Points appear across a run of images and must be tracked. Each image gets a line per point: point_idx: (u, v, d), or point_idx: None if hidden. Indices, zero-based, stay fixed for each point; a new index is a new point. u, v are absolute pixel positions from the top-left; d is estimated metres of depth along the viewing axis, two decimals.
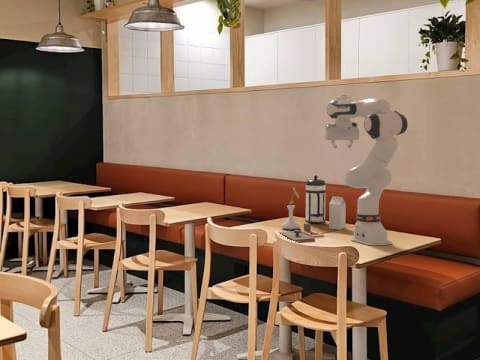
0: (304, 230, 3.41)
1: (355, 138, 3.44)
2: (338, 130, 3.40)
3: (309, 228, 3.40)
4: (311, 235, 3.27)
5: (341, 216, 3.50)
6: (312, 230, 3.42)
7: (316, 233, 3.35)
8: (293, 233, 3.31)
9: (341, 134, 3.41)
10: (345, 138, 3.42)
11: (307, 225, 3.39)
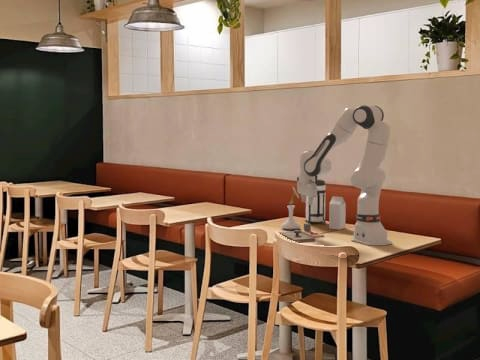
0: (304, 230, 3.41)
1: None
2: None
3: (309, 228, 3.40)
4: (311, 235, 3.27)
5: (341, 216, 3.50)
6: (312, 230, 3.42)
7: (316, 233, 3.35)
8: (293, 233, 3.31)
9: None
10: None
11: (307, 225, 3.39)
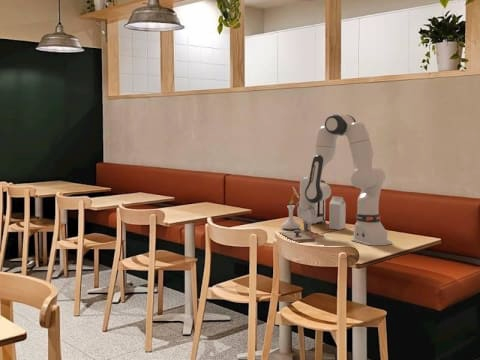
0: (304, 230, 3.41)
1: None
2: None
3: None
4: (311, 235, 3.27)
5: (341, 216, 3.50)
6: (312, 230, 3.42)
7: (316, 233, 3.35)
8: (293, 233, 3.31)
9: None
10: None
11: (307, 225, 3.39)
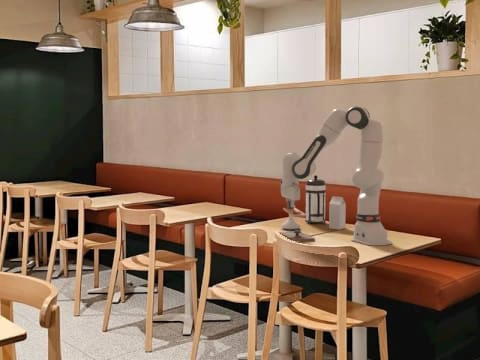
0: (287, 208, 3.33)
1: None
2: None
3: None
4: (293, 214, 3.19)
5: (341, 216, 3.50)
6: (295, 208, 3.34)
7: (299, 212, 3.27)
8: (293, 233, 3.31)
9: None
10: None
11: (290, 203, 3.31)
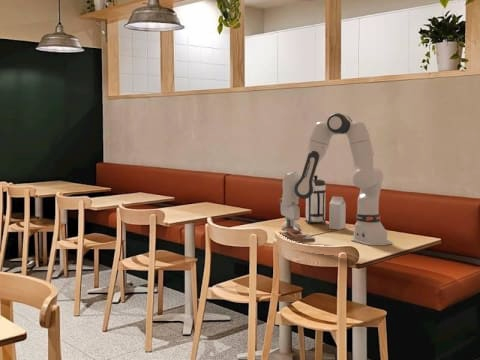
0: (287, 227, 3.34)
1: None
2: None
3: None
4: (293, 235, 3.20)
5: (341, 216, 3.50)
6: (295, 227, 3.35)
7: None
8: (293, 233, 3.31)
9: None
10: None
11: None
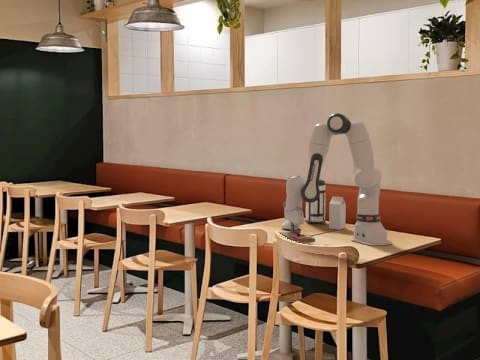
0: (291, 231, 3.29)
1: None
2: None
3: None
4: (297, 237, 3.15)
5: (341, 216, 3.50)
6: None
7: (303, 235, 3.22)
8: None
9: None
10: None
11: None
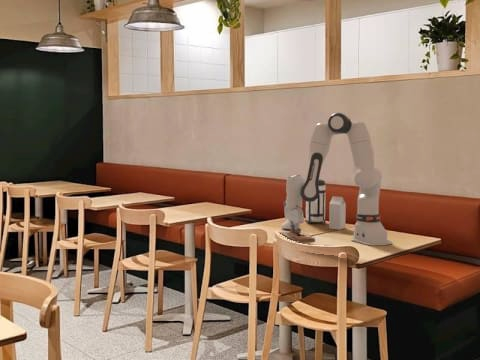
0: (291, 231, 3.29)
1: None
2: None
3: None
4: (297, 237, 3.15)
5: (341, 216, 3.50)
6: None
7: (303, 235, 3.22)
8: None
9: None
10: None
11: None
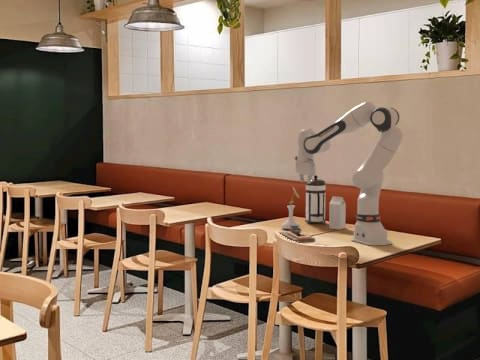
0: (291, 231, 3.29)
1: None
2: None
3: (296, 229, 3.28)
4: (297, 237, 3.15)
5: (341, 216, 3.50)
6: None
7: (303, 235, 3.22)
8: None
9: None
10: None
11: (294, 226, 3.27)
